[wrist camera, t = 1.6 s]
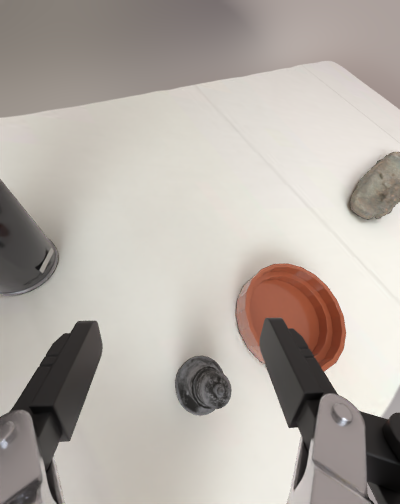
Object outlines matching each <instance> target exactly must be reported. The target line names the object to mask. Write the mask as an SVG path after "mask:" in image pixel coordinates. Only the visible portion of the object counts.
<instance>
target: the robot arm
mask: <svg viewBox="0 0 400 504" xmlns="http://www.w3.org/2000/svg"><path fill="white" fill-rule="evenodd" d="M57 263H58V252H57V249H56V247H55V246H54V244H53V243H52V242H51V241H50V240H49V239H48V238H47V237H46V235H45V234H44V233H43V232H42V230H41V229H40V228H39V226H38V225H37V224H36V223H35V221H34V220H33V219H32V218H31V217H30V215H29V214H28V213H27V212H26V210H25V209H24V208H23V207H22V205H21V204H20V203H19V202H18V200H17V199H16V198H15V197H14V195H13V194H12V193H11V192H10V190H9V189H8V188H7V187H6V185H5V184H4V183H3V182H2V180H1V179H0V295H6V296H11V295H19V294H23V293H26V292H29V291H31V290H33V289H35V288H37V287H39V286H40V285H42V284H43V283H44V282H45V281H47V280H48V279H49V277H50V276H51V275H52V274H53V272H54V270H55V268H56V266H57ZM259 343H260V350H261V354H262V356H263V359H264V362H265V365H266V367H267V370H268V373H269V375H270V378H271V381H272V384H273V386H274V389H275V392H276V394H277V397H278V400H279V403H280V405H281V408H282V411H283V413H284V416H285V419H286V422H287V424H288V427H289V428H294V427H298V428H299V430H300V433H301V435H302V436H301V439H300V443H299V448H298V453H297V458H296V464H295V469H294V474H293V479H292V484H291V489H290V493H289V497H288V500H287V503H286V504H374V503H373V502H372V501H371V500H370V499H369V497H368V494H367V482H368V484H369V486H370V488H371V490H372V492H373V494H374V496H375V498H376V500H377V502H378V504H400V413H395V414H393V415H392V416H391V417H390V418H389V419H384V418H381V417H377V416H374V415H371V414H367V413H364V412H361V411H359V410H358V409H357V408H356V407H355V406H354V405H353V404H352V403H351V402H350V401H348V400H347V399H345V398H344V397H342V396H339V395H338V394H337V392H336V391H335V389H334V388H333V386H332V384H331V383H330V381H329V380H328V378H327V376H326V375H325V373H324V371H323V370H322V368H321V366H320V365H319V363H318V361H317V360H316V358H314V355H313V353H312V351H311V350H310V349H309V347H308V345H307V343H306V342H305V340H304V338H303V337H302V336H301V335H300V334H299V333H298V332H297V331H296V330H295V329H293V328H289V329H288V327H287V325H286V323H285V322H284V320H283V319H282V318H281V317H280V318H265V320H264V324H263V328H262V332H261V336H260V342H259ZM101 355H102V340H101V335H100V331H99V327H98V323H97V321H78V322H77V323H76V324H75V326H74V328H73V330H72V331H71V333H65V334H63V335H62V336H61V337H60V338H59V339H57V340H56V341H55V342H54V343H53V344H52V346H51V348H50V349H49V351H48V352H47V354H46V357H44V359H43V360H42V362H41V364H40V367H38V368H37V370H36V372H35V373H34V375H33V376H32V378H31V380H30V381H29V383H28V384H27V386H26V388H25V389H24V391H23V392H22V394H21V396H20V397H19V399H18V400H17V402H16V404H15V405H14V407H13V408H12V409H11V411H10V412H9V413H7V414H5V415H3V416H1V417H0V504H65V501H64V497H63V493H62V488H61V484H60V480H59V475H58V471H57V466H56V462H55V458H54V453H55V451H56V448H57V446H58V443H59V442H63V441H70V439H71V437H72V434H73V431H74V428H75V426H76V423H77V420H78V418H79V415H80V412H81V409H82V407H83V404H84V401H85V399H86V396H87V393H88V391H89V388H90V385H91V382H92V380H93V377H94V374H95V372H96V369H97V366H98V363H99V361H100V358H101Z"/></svg>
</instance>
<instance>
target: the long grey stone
mask: <svg viewBox="0 0 400 504" xmlns="http://www.w3.org/2000/svg"><path fill="white" fill-rule="evenodd" d="M398 202H400V152H392V153H390V154H388V155H386V156H385V157H384V158H383V159H382V160H379V161H377V163H376V165H375V166H374V167H373V168H371V170H370V171H368V172H367V174H365V175H364V177H362V178H361V179H360V181H359V183H358V185H357V188H356V190H355V191H354V192H353V194H352V197H351V202H350V205H351V209H352V211H354V212H355V213H356V214H357V215H359V216H361V217H362V218H366V219H371V218H373V217H375V218H376V219H378V218H381V217H382V216H385V215H386V214H389V213H390V212H391V211H392V208H393V207H395V205H396V204H398Z"/></svg>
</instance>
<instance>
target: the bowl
mask: <svg viewBox="0 0 400 504" xmlns="http://www.w3.org/2000/svg"><path fill="white" fill-rule="evenodd" d="M236 317H237V322H238V327H239V331H240V333H241V335H242V337H243V339H244V341H245V343H246V345H247V347H248V349H249V350H250V351H251V352H252V353H253V354H254V355H255V356H256V357H257V358H258V360H259V361H260V362H262V363H264V364H265V362H264V359H263V356H262V354H261V350H260V343H259V342H260V336H261V332H262V328H263V324H264V320H265V318H280V317H281V318H282V319H283V320H284V322H285V323H286V325H287V327H288V329H289V328H293V329H295V330H296V331H297V332H298V333H299V334H300V335H301V336H302V337H303V338H304V340H305V342H306V343H307V345H308V347H309V349H310V350H311V351H312V353H313V355H314V358H316V360H317V361H318V363H319V365H320V366H321V368H322V370H323V371H325V370H327V369H328V368H330V367H331V366H332V365H334V364H335V363H336V362H337V360H338V358H339V356H340V355H341V353H342V351H343V349H344V344H345V337H346V329H345V322H344V316H343V313H342V311H341V309H340V306H339V304H338V301H337V299H336V298H335V297H334V295H333V294H332V292H331V291H330V289H329V288H328V287H327V285H325V284H324V283H323V282H322V281H321V280H320V279H319V278H318V277H317V276H316V275H314V274H313V273H311V272H309V271H307V270H306V269H304V268H302V267H299V266H295V265H291V264H273V265H270V266H268V267H266V268H263V269H261V270H260V271H259V272H258V273H257V274H256V275H254V276H253V277H252V278H251V279H250V280H249V281H248V282H247V283H246V284H245V285H244V286H243V288H242V290H241V292H240V295H239V297H238V300H237V310H236Z"/></svg>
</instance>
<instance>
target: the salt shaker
mask: <svg viewBox="0 0 400 504" xmlns="http://www.w3.org/2000/svg"><path fill="white" fill-rule="evenodd" d="M175 388H176V393H177V397H178V400H179V402H180V403H181V405H182V406H183V407H184V408H185V409H186V410H187V411H188V412H190V413H192V414H194V415H200V416H201V415H207V414H209V413H211V412H213V411H214V410H215V409H219V408H222V407H224V406H225V405H226V404H227V403H228V401H229V400H230V397H231V384H230V382H229V380H228V378H227V377H226V376H225V375H224V374H223V371H222V369H221V368H220V366H219V364H217V363H216V362H215V361H214V360H213V359H211V358H209V357H205V356H195V357H193V358H191V359H189V360H188V361H186V362H185V363H184V364H183V365H182V366H181V368H180V369H179V371H178V373H177V375H176V380H175Z"/></svg>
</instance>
